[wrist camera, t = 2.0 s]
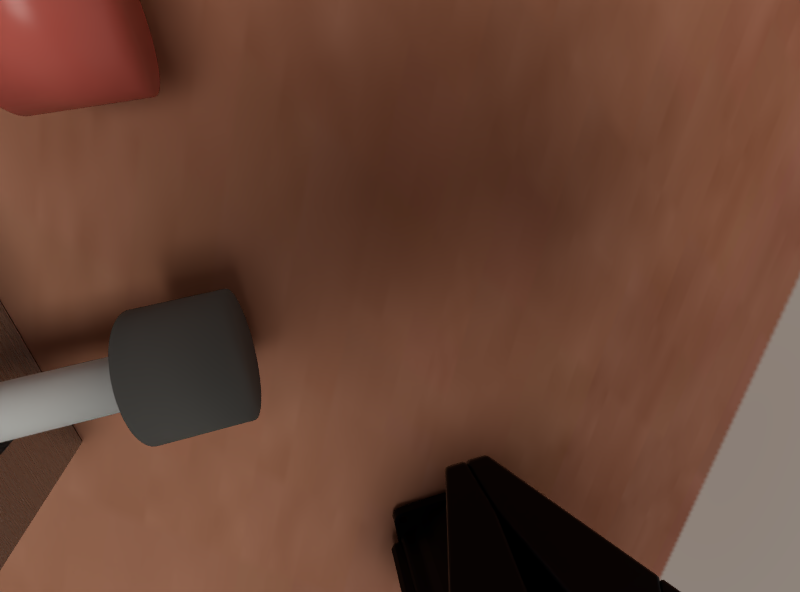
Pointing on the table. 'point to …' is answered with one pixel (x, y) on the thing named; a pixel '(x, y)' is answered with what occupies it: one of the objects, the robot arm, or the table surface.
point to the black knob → (150, 376)
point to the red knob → (74, 55)
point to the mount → (26, 451)
